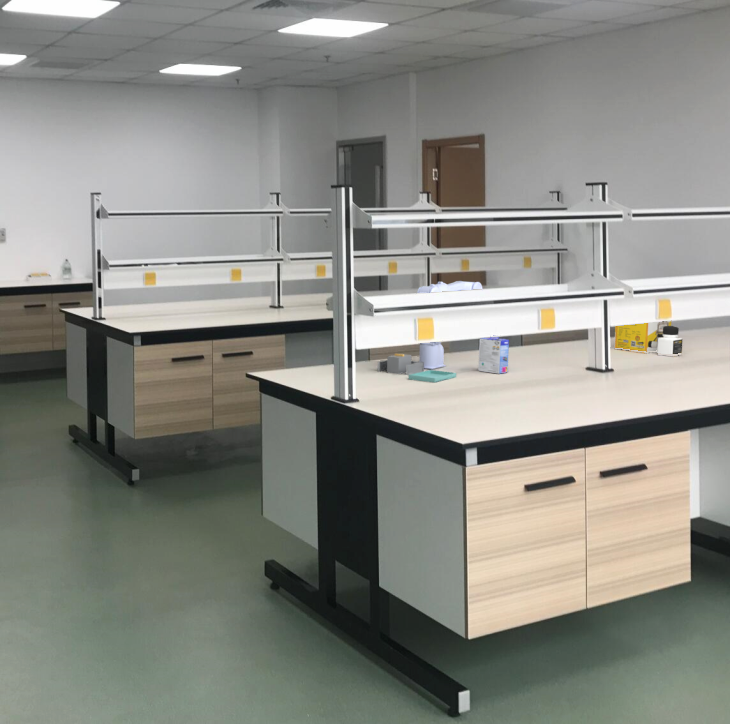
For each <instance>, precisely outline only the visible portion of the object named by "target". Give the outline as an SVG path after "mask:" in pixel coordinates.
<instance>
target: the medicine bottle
mask: <svg viewBox="0 0 730 724" xmlns="http://www.w3.org/2000/svg"><path fill="white" fill-rule="evenodd" d="M679 330H680V329H679V327H678V326H676V325H675V326H674V325H671V326H665V327H663V337H662V338H658V349H657V352H656V354H657V353H661V354H678V353H682V354H683V338H682V337H679Z"/></svg>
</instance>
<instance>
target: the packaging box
mask: <svg viewBox="0 0 730 724" xmlns="http://www.w3.org/2000/svg"><path fill="white" fill-rule="evenodd" d="M614 326H615V325H614ZM665 326H672V320H671V321H662V322H653V323H644V324H635V325H624V326H615V327H614V345H613V346H614V348H623V349H630V350H638V351H646V352H648V351H656V350H657V349H658V338H662V337H663V327H665Z"/></svg>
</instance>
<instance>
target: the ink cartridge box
mask: <svg viewBox="0 0 730 724" xmlns="http://www.w3.org/2000/svg"><path fill="white" fill-rule="evenodd" d="M509 344H510V340H509V339H508V338H507V339H506V338H500V337H491V336H490V337H480V338H479V346H478V348H479V349H478V370H477V371H479V372H485V373H491V374H492V373H493V374H498V375H499V374H507V373H506V372H509V348H510V347H509V346H510V345H509Z"/></svg>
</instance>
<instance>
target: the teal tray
mask: <svg viewBox="0 0 730 724" xmlns="http://www.w3.org/2000/svg"><path fill="white" fill-rule="evenodd" d="M454 378H457V372H450V371H445V370H436V369H428V370H424V371H423V372H419V373H415V374H411V375H408V380H414V381H419V382H426V383H428V382H429V383H438V382H442V381H446V380H450V379H454Z"/></svg>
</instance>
